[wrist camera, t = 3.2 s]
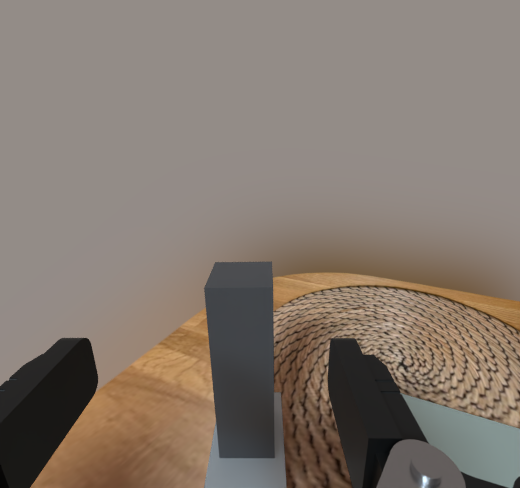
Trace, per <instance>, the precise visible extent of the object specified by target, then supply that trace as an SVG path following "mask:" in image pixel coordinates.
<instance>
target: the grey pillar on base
mask: <svg viewBox="0 0 520 488" xmlns="http://www.w3.org/2000/svg"><path fill="white" fill-rule="evenodd" d="M204 289H205V301H206V312H207V324H208V335H209V346H210V358H211V369H212V380H213V391H214V403H215V414H216V425H215V430H214V436H213V441H212V447H211V452H210V458H209V463H208V469H207V474H206V480H205V486H204V488H287V487H286V470H285V453H284V436H283V420H282V403H281V392H274V334H273V276H272V262H216V263H215V264H214V267H213V269H212V271H211V274H210V276H209V278H208V281H207V283H206V285H205V288H204Z"/></svg>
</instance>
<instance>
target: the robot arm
mask: <svg viewBox="0 0 520 488" xmlns="http://www.w3.org/2000/svg"><path fill="white" fill-rule="evenodd" d="M97 384H98V374H97V369H96V365H95V360H94V355H93V351H92V346H91V343H90V341H89V339H87V338H62V339H60V340H58V341H57V342H56V343H55V344H54V345H53V346H52V347H51V348H50V349H49V350H48V351H46V352H45V353H44V354H42V355H40V356H38V357H37V358H35V359H33V360H32V361H30V362H28V363H26V364H25V365H23V366H22V367H21V368H20V369H19V370H18V371H17V372H16V373H15V374H13V375H12V376H11V377H10V379H9V381H6V382H5V383H3V384H2V385H1V386H0V488H30V487H31V485H32V484H33V483H34V481H35V480H36V478H37V477H38V475H39V474H40V472H41V471H42V470H43V468H44V467H45V465H46V464H47V462H48V461H49V459H50V458H51V457H52V455H53V454H54V452H55V451H56V449H57V448H58V446H59V445H60V444H61V442H62V441H63V439H64V438H65V436H66V435H67V433H68V432H69V431H70V429H71V428H72V426H73V425H74V423H75V422H76V420H77V419H78V418H79V416H80V415H81V413H82V412H83V410H84V409H85V407H86V406H87V405H88V403H89V402H90V400H91V399H92V397H93V396H94V394H95V391H96V388H97ZM328 390H329V397H330V401H331V405H332V409H333V412H334V416H335V420H336V424H337V428H338V432H339V436H340V440H341V444H342V448H343V451H344V455H345V459H346V463H347V467H348V471H349V475H350V479H351V483H352V487H353V488H508V487H505V486H501V485H498V484H495V483H492V482H488V481H485V480H482V479H479V478H475V477H473V476H470V475H467V474H465V473H463V472H461V471H460V470H459V468H458V467H457V466H456V464H455V463H454V462H453V461H452V460H451V459H450V458H449V457H448V456H447V455H446V454H445V453H444V452H442V451H441V450H439V449H438V448H436V447H434V446H433V445H431V444H429V443H428V441H427V439H426V437H425V436H424V434H423V432H422V430H421V428H420V426H419V425H418V423H417V421H416V419H415V417H414V416H413V414H412V412H411V410H410V408H409V407H408V405H407V403H406V401H405V399H404V397H403V396H402V394H400V390H399V388H398V387H397V385H396V383H395V382H394V379H393V378H392V376H391V374H390V372H389V370H388V368H387V367H386V366H385V365H384V364H383V363H382V362H381V361H380V360H379V359H378V358H376V357H375V356H374V355H363V354H362V351H361V349H360V347H359V345H358V343H357V341H356V339H354V338H332V339H331V341H330V352H329V367H328ZM513 488H520V477H518V478H517V479H516V480H515V482H514V485H513Z"/></svg>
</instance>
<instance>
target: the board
mask: <svg viewBox="0 0 520 488" xmlns="http://www.w3.org/2000/svg"><path fill="white" fill-rule="evenodd" d="M400 394H402V393H400ZM402 396H403V397H404V399H405V401H406V403H407V405H408V407H409V408H410V410H411V412H412V414H413V416H414V417H415V419H416V421H417V423H418V425H419V426H420V428H421V430H422V432H423V434H424V436H425V437H426V439H427V441H428V443H429V444H431V445H433V446H434V447H436V448H438V449H439V450H441V451H442V452H444V453H445V454H446V455H447V456H448V457H449V458H450V459H451V460H452V461H453V462H454V463H455V464H456V466H457V467H458V468H459V470H460V471H461V472H463V473H465V474H467V475H470V476H473V477H475V478H479V479H482V480H485V481H488V482H492V483H495V484H498V485H501V486H505V487H508V488H513V485H514V482H515V480H516V479H517V478H518V477H520V429H518V428H515V427H512V426H508V425H505V424H502V423H498V422H495V421H492V420H488V419H485V418H482V417H478V416H475V415H472V414H468V413H465V412H462V411H458V410H455V409H452V408H448V407H445V406H442V405H438V404H435V403H432V402H428V401H425V400H422V399H418V398H415V397H412V396H408V395H405V394H402Z"/></svg>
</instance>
